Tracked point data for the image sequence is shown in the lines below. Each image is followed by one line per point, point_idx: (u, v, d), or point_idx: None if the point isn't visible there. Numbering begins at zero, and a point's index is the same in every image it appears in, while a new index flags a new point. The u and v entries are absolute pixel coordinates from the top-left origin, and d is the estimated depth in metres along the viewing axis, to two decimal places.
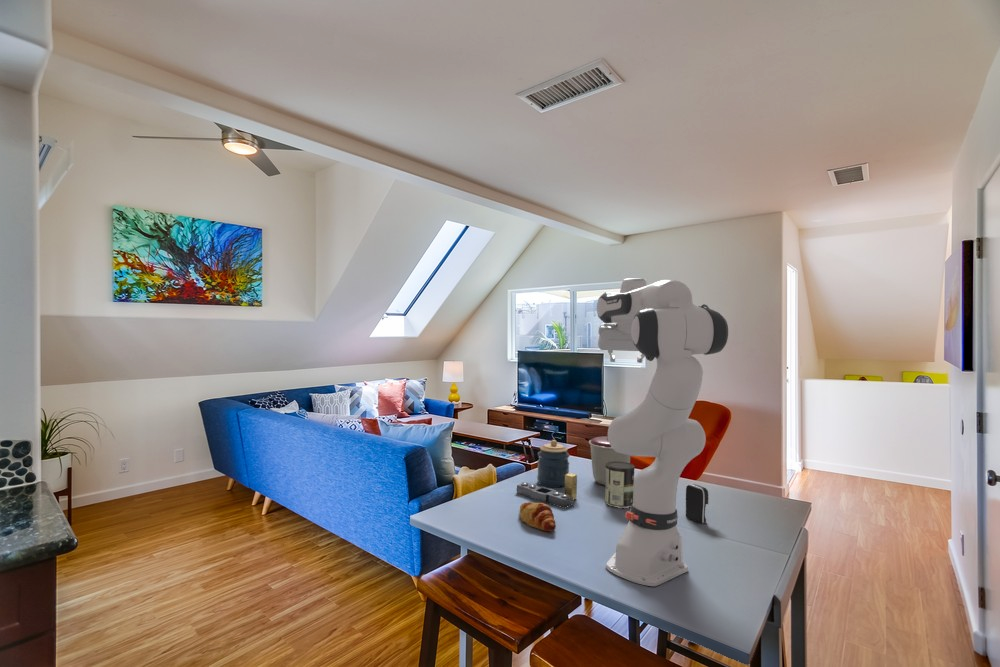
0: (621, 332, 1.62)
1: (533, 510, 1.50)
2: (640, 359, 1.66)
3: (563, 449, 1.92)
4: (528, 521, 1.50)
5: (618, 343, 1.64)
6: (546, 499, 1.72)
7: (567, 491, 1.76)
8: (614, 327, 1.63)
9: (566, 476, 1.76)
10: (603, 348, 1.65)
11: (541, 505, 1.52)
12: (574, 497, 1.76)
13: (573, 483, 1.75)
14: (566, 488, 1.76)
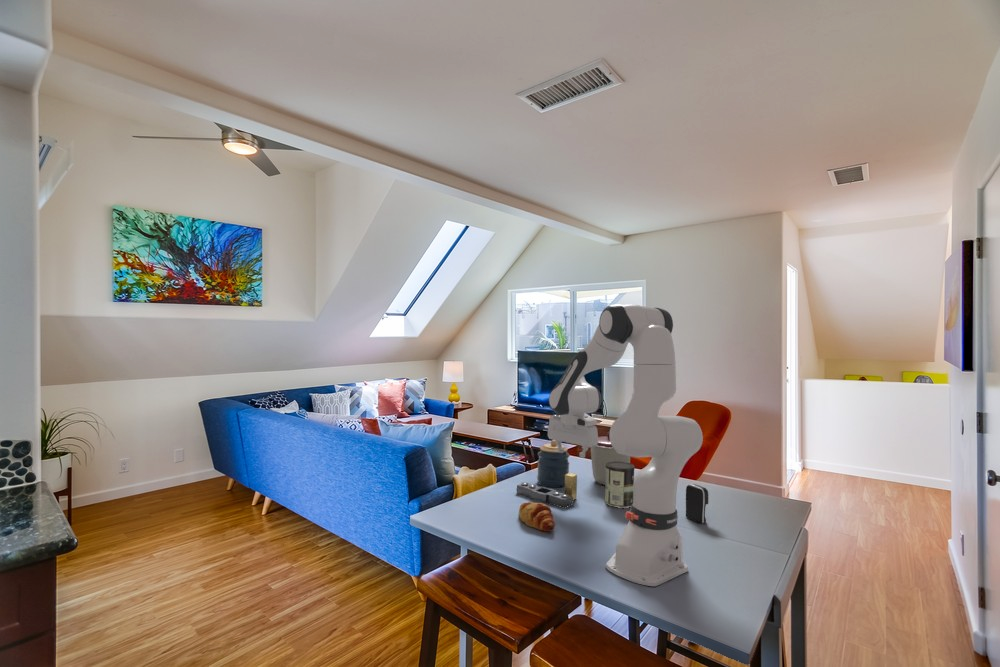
0: (562, 423, 1.77)
1: (532, 510, 1.50)
2: (580, 454, 1.73)
3: None
4: (527, 521, 1.50)
5: (560, 433, 1.78)
6: (546, 499, 1.72)
7: (567, 491, 1.76)
8: (560, 419, 1.80)
9: (566, 476, 1.76)
10: (550, 437, 1.81)
11: (540, 505, 1.52)
12: (574, 497, 1.76)
13: (573, 483, 1.75)
14: (566, 488, 1.76)
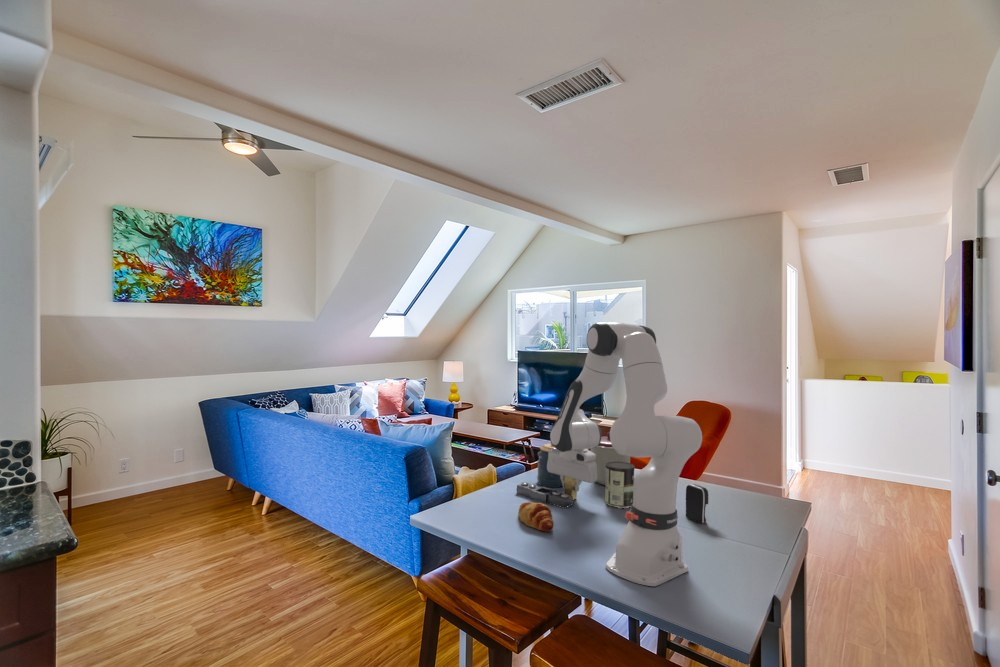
0: (562, 457, 1.77)
1: (531, 509, 1.50)
2: (574, 487, 1.74)
3: None
4: (526, 521, 1.50)
5: (560, 467, 1.78)
6: (546, 499, 1.72)
7: (567, 491, 1.76)
8: (559, 452, 1.80)
9: None
10: (549, 470, 1.81)
11: (539, 505, 1.52)
12: (574, 497, 1.76)
13: (573, 483, 1.75)
14: (566, 488, 1.76)
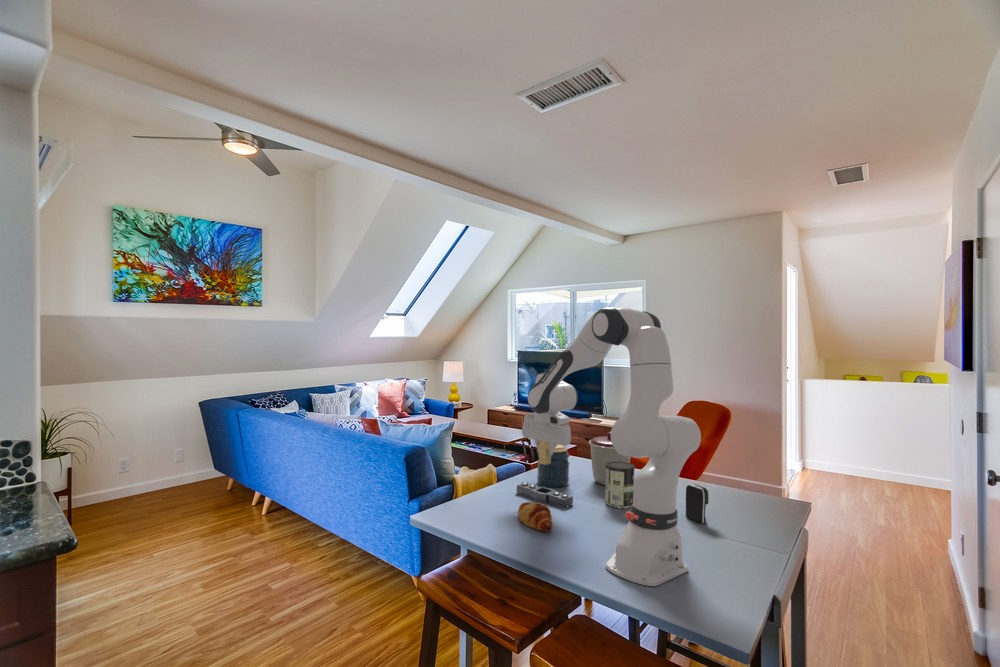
0: (536, 422, 1.77)
1: (530, 509, 1.50)
2: (548, 451, 1.74)
3: (563, 449, 1.92)
4: (525, 521, 1.50)
5: (534, 432, 1.77)
6: (546, 499, 1.72)
7: (541, 455, 1.75)
8: (534, 417, 1.79)
9: None
10: (524, 435, 1.81)
11: (538, 505, 1.52)
12: (548, 461, 1.75)
13: (547, 447, 1.75)
14: (540, 452, 1.76)
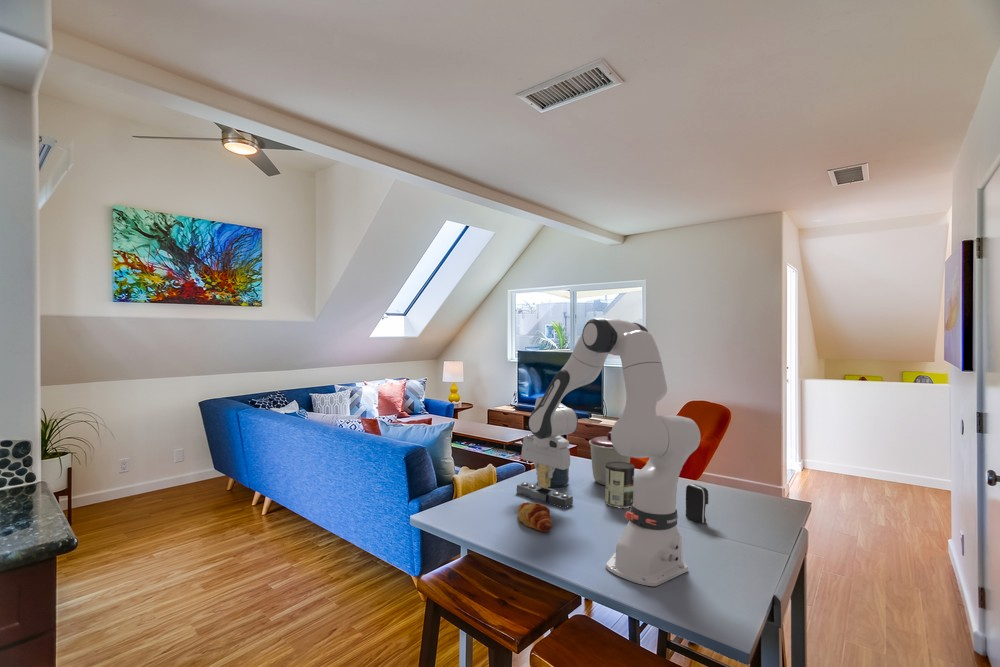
0: (536, 445, 1.77)
1: (530, 510, 1.50)
2: (547, 474, 1.74)
3: None
4: (525, 521, 1.50)
5: (534, 455, 1.77)
6: (546, 499, 1.72)
7: (541, 478, 1.75)
8: None
9: None
10: (523, 458, 1.81)
11: (538, 505, 1.52)
12: (548, 484, 1.75)
13: (547, 470, 1.75)
14: (540, 475, 1.76)
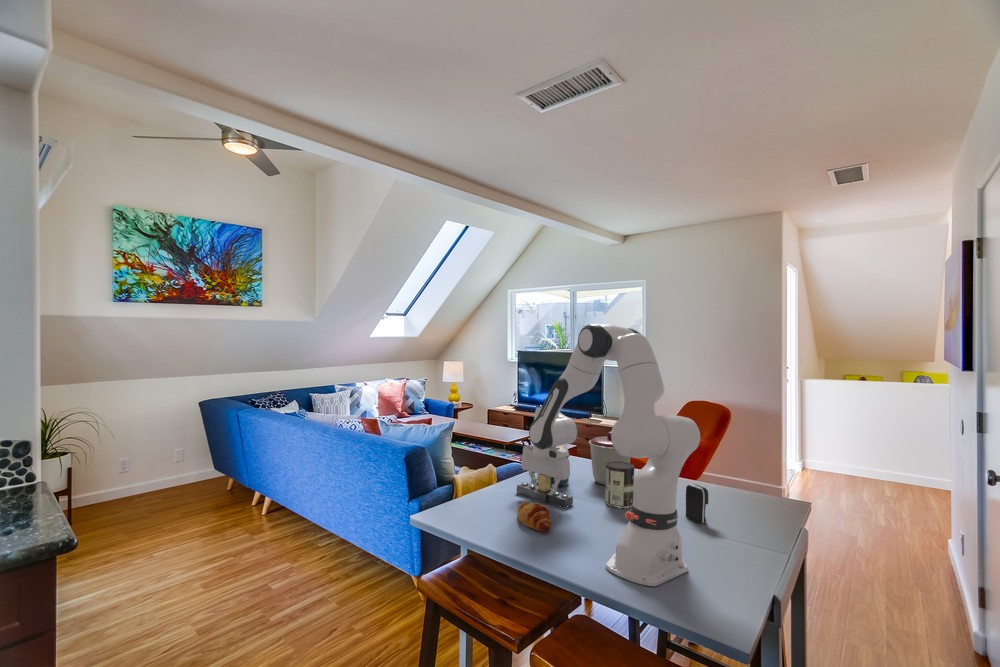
0: (535, 454, 1.77)
1: (529, 510, 1.50)
2: (553, 486, 1.72)
3: None
4: (524, 521, 1.50)
5: (533, 464, 1.77)
6: (546, 499, 1.72)
7: (540, 491, 1.75)
8: (533, 449, 1.79)
9: (539, 476, 1.76)
10: (523, 467, 1.81)
11: (537, 505, 1.51)
12: None
13: (546, 483, 1.75)
14: (539, 488, 1.75)
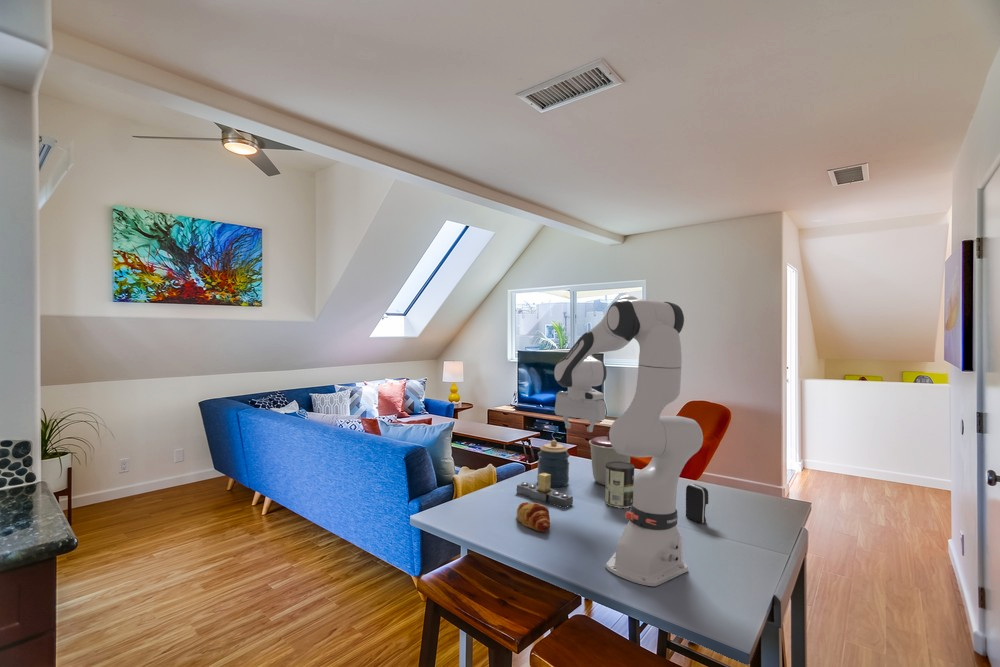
0: (570, 399, 1.79)
1: (528, 509, 1.50)
2: (588, 428, 1.74)
3: (563, 449, 1.92)
4: (523, 521, 1.50)
5: (568, 409, 1.79)
6: (546, 499, 1.72)
7: (540, 491, 1.75)
8: (567, 394, 1.81)
9: (539, 476, 1.76)
10: (557, 413, 1.82)
11: (537, 505, 1.51)
12: None
13: (546, 483, 1.75)
14: (539, 488, 1.75)
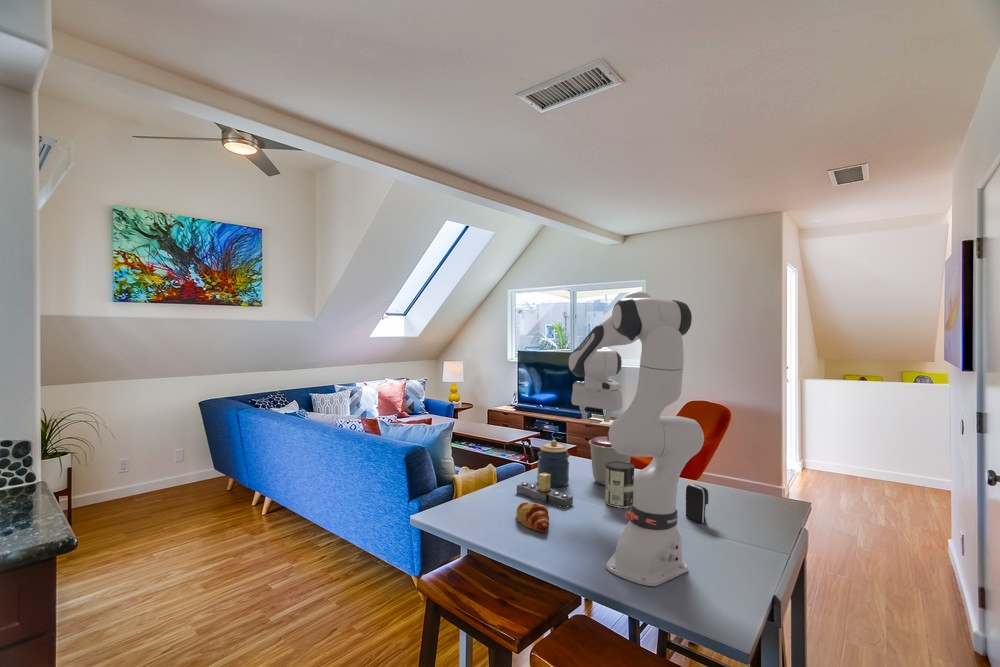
0: (587, 389, 1.80)
1: (527, 510, 1.50)
2: (605, 418, 1.75)
3: (563, 449, 1.92)
4: (522, 521, 1.50)
5: (584, 399, 1.80)
6: (546, 499, 1.72)
7: (540, 491, 1.75)
8: (583, 384, 1.82)
9: (539, 476, 1.76)
10: (574, 403, 1.84)
11: (536, 505, 1.51)
12: None
13: (546, 483, 1.75)
14: (539, 488, 1.75)
